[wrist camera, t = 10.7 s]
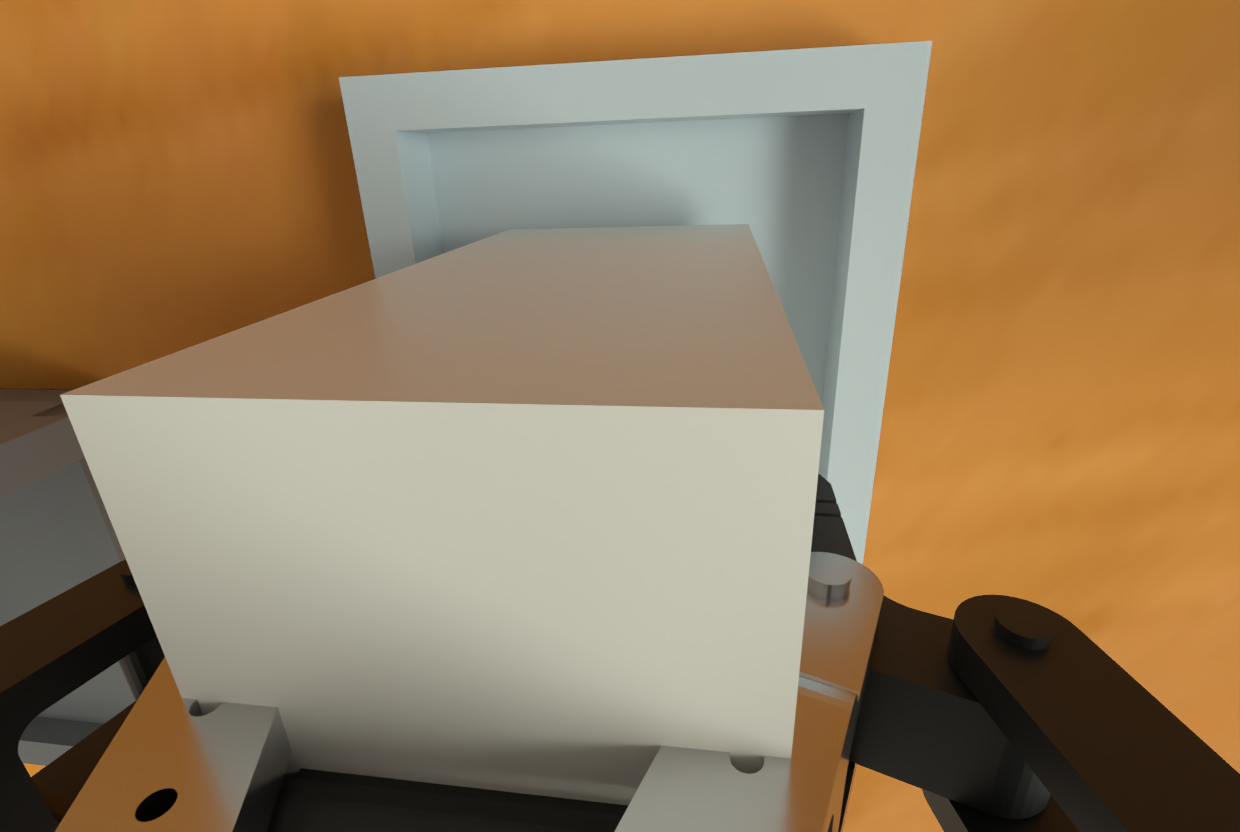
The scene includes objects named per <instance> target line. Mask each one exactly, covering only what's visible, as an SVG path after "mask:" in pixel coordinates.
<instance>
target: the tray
mask: <svg viewBox="0 0 1240 832" xmlns="http://www.w3.org/2000/svg"><path fill="white" fill-rule="evenodd" d="M931 46H932V41H919V42H903V43H887V44H870V45H854V46H838V47H822V48H806V49H789V50H773V51H757V52H741V53H725V54H708V55H692V56H676V57H660V58H644V59H627V60H611V61H595V62H579V63H563V64H546V65H530V66H514V67H498V68H482V69H465V70H449V71H433V72H417V73H401V74H384V75H368V76H352V77H339V82H340V88H341V93H342V99H343V104H344V110H345V115H346V121H347V126H348V132H349V137H350V143H351V148H352V154H353V159H354V165H355V170H356V175H357V181H358V186H359V192H360V197H361V203H362V208H363V214H364V219H365V225H366V230H367V236H368V241H369V247H370V252H371V258H372V263H373V269H374V274H375V279H376V278H379V277H381V276H384V275H387V274H390V273H392V272H395V271H398V270H400V269H403V268H406V267H409V266H411V265H414V264H417V263H419V262H422V261H425V260H428V259H430V258H433V257H436V256H438V255H441V254H444V253H447V252H449V251H452V250H455V249H457V248H460V247H463V246H466V245H468V244H471V243H474V242H476V241H479V240H482V239H485V238H487V237H490V236H493V235H496V234H498V233H501V232H504V231H506V230H509V229H550V228H595V227H640V226H684V225H729V224H749V227H750V229H751V232H752V234H753V236H754V239H755V241H756V244H757V246H758V249H759V251H760V254H761V256H762V259H763V261H764V263H765V266H766V268H767V271H768V273H769V276H770V278H771V281H772V283H773V285H774V288H775V290H776V293H777V295H778V298H779V300H780V303H781V305H782V308H783V310H784V312H785V315H786V317H787V320H788V322H789V325H790V327H791V330H792V332H793V335H794V337H795V339H796V342H797V344H798V347H799V349H800V352H801V354H802V357H803V359H804V362H805V364H806V366H807V369H808V371H809V374H810V376H811V379H812V381H813V384H814V386H815V388H816V391H817V393H818V396H819V398H820V401H821V403H822V406H823V408H824V419H823V429H822V440H821V450H820V461H819V471H818V473H819V474H820V475H821V476H822V477H824V478H825V479H826V480H827V481H828V482H829V483H830V484H831V486H832V489H833V492H834V495H835V497H836V504H838V506H839V509H840V512H841V517H842V518H843V521H844V524H845V527H846V530H847V533H848V536H849V539H850V542H851V545H852V548H853V551H854V554H855V557H856V560H857V562H859V563H861V564H863V558H864V550H865V543H866V535H867V528H868V520H869V513H870V505H871V498H872V490H873V483H874V475H875V467H876V460H877V452H878V445H879V437H880V430H881V422H882V415H883V407H884V400H885V392H886V385H887V377H888V370H889V362H890V355H891V347H892V340H893V332H894V325H895V317H896V310H897V302H898V295H899V287H900V279H901V272H902V264H903V257H904V249H905V242H906V234H907V227H908V219H909V212H910V204H911V197H912V189H913V182H914V174H915V167H916V159H917V152H918V144H919V137H920V129H921V122H922V114H923V107H924V99H925V92H926V84H927V76H928V69H929V61H930V54H931Z"/></svg>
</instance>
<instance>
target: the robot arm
mask: <svg viewBox="0 0 1240 832" xmlns="http://www.w3.org/2000/svg"><path fill="white" fill-rule="evenodd" d="M883 594H884V591H883V586H882V584H881V582H880V580H879V579H878V577H877V576H876V575H875V574H874V573H873V572H872V571H871V570H870V569H868V568H867V567H865V566H864V565H863V564H861V563H859V562H857V560H856V557H855V554H854V551H853V548H852V545H851V542H850V539H849V536H848V533H847V530H846V527H845V524H844V521H843V518H842V517H841V512H840V509H839V506H838V504H836V497H835V495H834V492H833V489H832V486H831V484H830V483H829V482H828V481H827V480H826V479H825V478H824V477H822V476H821V475H820V474H819V473H818V482H817V492H816V503H815V513H814V524H813V534H812V545H811V555H810V566H809V576H808V587H807V597H806V608H805V618H804V629H803V639H802V650H801V660H800V671H799V681H798V692H797V703H796V713H795V724H794V734H793V745H792V755H791V758H782V757H772V756H763V766H762V769H761V770H760V771H758V772H756V773H752V774H747V773H743V772H740V771H738V770H737V769H736V768H735V767H734V766H733V765H732V764H731V762H730V752H722V751H712V750H702V749H692V748H681V747H671V746H661V747H660V749H659V751H658V753H657V755H656V756H655V758H654V760H653V762H652V764H651V766H650V767H649V769H648V771H647V773H646V775H645V777H644V778H643V780H642V782H641V784H640V786H639V788H638V789H637V791H636V793H635V795H634V797H633V799H632V800H631V802H630V804H629V806H628V805H619V804H611V803H602V802H593V801H584V800H576V799H567V798H558V797H549V796H541V795H532V794H523V793H514V792H505V791H497V790H488V789H479V788H470V787H462V786H453V785H444V784H435V783H427V782H418V781H409V780H400V779H392V778H383V777H374V776H365V775H357V774H348V773H339V772H330V771H322V770H313V769H304V768H301V769H300V770H299V772H294V773H287V774H285V772H286V769H287V765H288V762H289V759H290V756H291V753H292V750H291V747H290V743H289V740H288V737H287V734H286V731H285V728H284V725H283V722H282V719H281V716H280V713H279V710H278V707H268V706H258V705H248V704H238V703H228V702H222V704H221V705H220V706H219V707H218V708H217V709H216V710H214V711H213V712H211V713H209V714H207V715H204V716H203V713H202V710H201V708H200V705H199V703H198V700H197V699H188V698H182V697H181V695H180V692H179V690H178V687H177V685H176V682H175V680H174V677H173V675H172V672H171V670H170V667H169V665H168V662H167V660H166V657H165V655H164V652H163V650H162V648H161V645H160V643H159V640H158V638H157V635H156V633H155V630H154V628H153V625H152V623H151V620H150V618H149V615H148V613H147V610H146V608H145V605H144V603H143V600H142V598H141V595H140V593H139V590H138V588H137V585H136V583H135V580H134V578H133V575H132V573H131V571H130V568H129V566H128V563H127V561H126V559H125V560H123V561H121V562H119V563H117V564H115V565H113V566H111V567H110V568H108V569H106V570H104V571H102V572H100V573H98V574H96V575H95V576H93V577H91V578H89V579H87V580H85V581H83V582H82V583H80V584H78V585H76V586H74V587H72V588H70V589H69V590H67V591H65V592H63V593H61V594H59V595H57V596H56V597H54V598H52V599H50V600H48V601H46V602H44V603H43V604H41V605H39V606H37V607H35V608H33V609H31V610H30V611H28V612H26V613H24V614H22V615H20V616H18V617H17V618H15V619H13V620H11V621H9V622H7V623H5V624H4V625H2V626H0V832H843V827H844V823H845V818H846V813H847V809H848V804H849V799H850V795H851V790H852V785H853V781H854V776H855V772H856V767H857V764H859V765H861V766H864V767H867V768H869V769H872V770H874V771H877V772H880V773H882V774H885V775H887V776H890V777H893V778H895V779H898V780H901V781H903V782H906V783H908V784H911V785H914V786H916V787H919V788H921V789H922V790H923V793H924V796H925V798H926V800H927V802H928V804H929V806H930V808H931V809H932V811H933V813H934V815H935V816H936V818H937V820H938V822H939V823H940V825H941V827H942V829H943V830H944V832H1240V774H1239V773H1238V772H1237V771H1236V770H1235V769H1233V768H1232V767H1231V766H1230V765H1229V764H1228V763H1227V762H1226V761H1225V760H1223V759H1222V758H1221V757H1220V756H1219V755H1218V754H1217V753H1216V752H1215V751H1213V750H1212V749H1211V748H1210V747H1209V746H1208V745H1207V744H1206V743H1205V742H1203V741H1202V740H1201V739H1200V738H1199V737H1198V736H1197V735H1196V734H1195V733H1193V732H1192V731H1191V730H1190V729H1189V728H1188V727H1187V726H1186V725H1185V724H1184V723H1182V722H1181V721H1180V720H1179V719H1178V718H1177V717H1176V716H1175V715H1174V714H1172V713H1171V712H1170V711H1169V710H1168V709H1167V708H1166V707H1165V706H1164V705H1162V704H1161V703H1160V702H1159V701H1158V700H1157V699H1156V698H1155V697H1154V696H1152V695H1151V694H1150V693H1149V692H1148V691H1147V690H1146V689H1145V688H1144V687H1142V686H1141V685H1140V684H1139V683H1138V682H1137V681H1136V680H1135V679H1134V678H1132V677H1131V676H1130V675H1129V674H1128V673H1127V672H1126V671H1125V670H1124V669H1123V668H1121V667H1120V666H1119V665H1118V664H1117V663H1116V662H1115V661H1114V660H1113V659H1111V658H1110V657H1109V656H1108V655H1107V654H1106V653H1105V652H1104V651H1103V650H1101V649H1100V648H1099V647H1098V646H1097V645H1096V644H1095V643H1094V642H1093V641H1091V640H1090V639H1089V638H1088V637H1087V636H1086V635H1085V634H1084V633H1083V632H1081V631H1080V630H1079V629H1078V628H1077V627H1076V626H1075V625H1073V624H1072V623H1071V622H1070V621H1068V620H1067V619H1065V618H1064V617H1062V616H1061V615H1059V614H1057V613H1055V612H1053V611H1051V610H1050V609H1048V608H1045V607H1043V606H1041V605H1038V604H1036V603H1033V602H1030V601H1027V600H1023V599H1019V598H1015V597H1009V596H1003V595H982V596H976V597H972V598H969V599H967V600H965V601H964V602H962V603H961V604H960V605H959V606H958V607H957V609H956V611H955V616H954V620H952V619H948V618H945V617H941V616H937V615H933V614H930V613H926V612H922V611H918V610H915V609H912V608H909V607H906V606H904V605H901V604H899V603H897V602H895V601H893V600H891V599H889V598H887V597H885V596H884V595H883ZM116 662H119V664H120V666H121V669H122V671H123V673H124V675H125V678H126V680H127V682H128V684H129V687H130V689H131V691H132V694H133V696H134V698H135V700H136V701H135V702H133V703H132V704H131V705H129V706H128V707H126V708H125V709H124V710H122V711H121V712H120V713H118V714H117V715H116V716H114V717H113V718H111V719H110V720H109V721H107V722H106V723H105V724H103V725H102V726H100V727H99V728H98V729H96V730H95V731H94V732H92V733H91V734H90V735H88V736H87V737H85V738H84V739H83V740H81V741H80V742H79V743H77V744H76V745H75V746H73V747H72V748H70V749H69V750H68V751H66V752H65V753H64V754H62V755H61V756H60V757H58V758H57V759H55V760H54V761H53V762H51V763H50V764H49V765H47V766H46V767H45V768H43V769H42V770H40V771H39V772H38V773H36V774H35V775H34V776H32V777H30V775H29V773H28V772H27V770H26V768H25V766H24V765H23V763H22V761H21V759H20V757H19V754H18V745H19V741H20V738H21V736H22V734H23V732H24V730H25V729H26V727H27V726H28V725H29V724H30V722H31V721H32V720H33V719H34V718H35V717H37V716H38V715H39V714H40V713H41V712H43V711H44V710H46V709H47V708H49V707H50V706H52V705H53V704H55V703H56V702H58V701H59V700H61V699H62V698H64V697H65V696H67V695H68V694H70V693H71V692H73V691H74V690H76V689H77V688H79V687H80V686H82V685H83V684H85V683H86V682H88V681H89V680H91V679H92V678H94V677H95V676H97V675H98V674H100V673H101V672H103V671H104V670H106V669H107V668H109V667H110V666H112V665H113V664H115V663H116Z"/></svg>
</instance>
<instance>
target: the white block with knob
mask: <svg viewBox="0 0 1240 832" xmlns="http://www.w3.org/2000/svg"><path fill="white" fill-rule="evenodd" d="M60 397H61V399H62V402H63V404H64V407H65V409H66V412H67V414H68V416H69V419H70V421H71V424H72V426H73V429H74V431H75V434H76V436H77V439H78V441H79V444H80V446H81V449H82V451H83V454H84V456H85V459H86V461H87V464H88V466H89V469H90V471H91V474H92V476H93V479H94V481H95V484H96V486H97V489H98V491H99V494H100V496H101V498H102V501H103V503H104V506H105V508H106V511H107V513H108V516H109V518H110V521H111V523H112V526H113V528H114V531H115V533H116V536H117V538H118V541H119V543H120V546H121V548H122V551H123V553H124V556H125V558H126V561H127V563H128V566H129V568H130V571H131V573H132V575H133V578H134V580H135V583H136V585H137V588H138V590H139V593H140V595H141V598H142V600H143V603H144V605H145V608H146V610H147V613H148V615H149V618H150V620H151V623H152V625H153V628H154V630H155V633H156V635H157V638H158V640H159V643H160V645H161V648H162V650H163V652H164V655H165V657H166V660H167V662H168V665H169V667H170V670H171V672H172V675H173V677H174V680H175V682H176V685H177V687H178V690H179V692H180V695H181V697H182V698H188V699H197V700H198V703H199V705H200V708H201V710H202V713H203V716H204V715H207V714H209V713H211V712H213V711H214V710H216V709H217V708H218V707H219V706H220V705H221V704H222V702H228V703H238V704H248V705H258V706H268V707H278V710H279V713H280V716H281V719H282V722H283V725H284V728H285V731H286V734H287V737H288V740H289V743H290V747H291V750H292V753H291V756H290V759H289V762H288V765H287V769H286V772H285V774H287V773H294V772H299V770H300V769H301V768H304V769H313V770H322V771H330V772H339V773H348V774H357V775H365V776H374V777H383V778H392V779H400V780H409V781H418V782H427V783H435V784H444V785H453V786H462V787H470V788H479V789H488V790H497V791H505V792H514V793H523V794H532V795H541V796H549V797H558V798H567V799H576V800H584V801H593V802H602V803H611V804H619V805H628V806H629V804H630V802H631V800H632V799H633V797H634V795H635V793H636V791H637V789H638V788H639V786H640V784H641V782H642V780H643V778H644V777H645V775H646V773H647V771H648V769H649V767H650V766H651V764H652V762H653V760H654V758H655V756H656V755H657V753H658V751H659V749H660V747H661V746H671V747H681V748H692V749H702V750H712V751H722V752H730V762H731V764H732V765H733V766H734V767H735V768H736V769H737V770H738V771H740V772H743V773H747V774H752V773H756V772H758V771H760V770H761V769H762V766H763V756H772V757H782V758H791V755H792V745H793V734H794V724H795V713H796V703H797V692H798V681H799V671H800V660H801V650H802V639H803V629H804V618H805V608H806V597H807V587H808V576H809V566H810V555H811V545H812V534H813V524H814V513H815V503H816V492H817V482H818V471H819V461H820V450H821V440H822V429H823V419H824V408H823V406H822V403H821V401H820V398H819V396H818V393H817V391H816V388H815V386H814V384H813V381H812V379H811V376H810V374H809V371H808V369H807V366H806V364H805V362H804V359H803V357H802V354H801V352H800V349H799V347H798V344H797V342H796V339H795V337H794V335H793V332H792V330H791V327H790V325H789V322H788V320H787V317H786V315H785V312H784V310H783V308H782V305H781V303H780V300H779V298H778V295H777V293H776V290H775V288H774V285H773V283H772V281H771V278H770V276H769V273H768V271H767V268H766V266H765V263H764V261H763V259H762V256H761V254H760V251H759V249H758V246H757V244H756V241H755V239H754V236H753V234H752V232H751V229H750V227H749V224H729V225H684V226H640V227H595V228H550V229H509V230H506V231H504V232H501V233H498V234H496V235H493V236H490V237H487V238H485V239H482V240H479V241H476V242H474V243H471V244H468V245H466V246H463V247H460V248H457V249H455V250H452V251H449V252H447V253H444V254H441V255H438V256H436V257H433V258H430V259H428V260H425V261H422V262H419V263H417V264H414V265H411V266H409V267H406V268H403V269H400V270H398V271H395V272H392V273H390V274H387V275H384V276H381V277H379V278H376V279H373V280H371V281H368V282H365V283H362V284H360V285H357V286H354V287H351V288H349V289H346V290H343V291H341V292H338V293H335V294H332V295H330V296H327V297H324V298H322V299H319V300H316V301H313V302H311V303H308V304H305V305H303V306H300V307H297V308H294V309H292V310H289V311H286V312H284V313H281V314H278V315H275V316H273V317H270V318H267V319H265V320H262V321H259V322H256V323H254V324H251V325H248V326H246V327H243V328H240V329H237V330H235V331H232V332H229V333H226V334H224V335H221V336H218V337H216V338H213V339H210V340H207V341H205V342H202V343H199V344H197V345H194V346H191V347H188V348H186V349H183V350H180V351H178V352H175V353H172V354H169V355H167V356H164V357H161V358H159V359H156V360H153V361H150V362H148V363H145V364H142V365H140V366H137V367H134V368H131V369H129V370H126V371H123V372H120V373H118V374H115V375H112V376H110V377H107V378H104V379H101V380H99V381H96V382H93V383H91V384H88V385H85V386H82V387H80V388H77V389H74V390H72V391H69V392H66V393H63V394H61V395H60Z"/></svg>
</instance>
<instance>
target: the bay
mask: <svg viewBox="0 0 1240 832" xmlns="http://www.w3.org/2000/svg"><path fill="white" fill-rule="evenodd" d="M69 391H72V390H49V389H0V626H2V625H4V624H5V623H7V622H9V621H11V620H13V619H15V618H17V617H18V616H20V615H22V614H24V613H26V612H28V611H30V610H31V609H33V608H35V607H37V606H39V605H41V604H43V603H44V602H46V601H48V600H50V599H52V598H54V597H56V596H57V595H59V594H61V593H63V592H65V591H67V590H69V589H70V588H72V587H74V586H76V585H78V584H80V583H82V582H83V581H85V580H87V579H89V578H91V577H93V576H95V575H96V574H98V573H100V572H102V571H104V570H106V569H108V568H110V567H111V566H113V565H115V564H117V563H119V562H121V561H123V560H125V559H126V558H125V556H124V553H123V551H122V548H121V546H120V543H119V541H118V538H117V536H116V533H115V531H114V528H113V526H112V523H111V521H110V518H109V516H108V513H107V511H106V508H105V506H104V503H103V501H102V498H101V496H100V494H99V491H98V489H97V486H96V484H95V481H94V479H93V476H92V474H91V471H90V469H89V466H88V464H87V461H86V459H85V456H84V454H83V451H82V449H81V446H80V444H79V441H78V439H77V436H76V434H75V431H74V429H73V426H72V424H71V421H70V419H69V416H68V414H67V412H66V409H65V407H64V404H63V402H62V399H61V397H60V395H61V394H63V393H66V392H69ZM135 701H136V700H135V698H134V696H133V694H132V691H131V689H130V687H129V684H128V682H127V680H126V678H125V675H124V673H123V671H122V669H121V666H120V664H119V662H116V663H115V664H113V665H112V666H110V667H109V668H107V669H106V670H104V671H103V672H101V673H100V674H98V675H97V676H95V677H94V678H92V679H91V680H89V681H88V682H86V683H85V684H83V685H82V686H80V687H79V688H77V689H76V690H74V691H73V692H71V693H70V694H68V695H67V696H65V697H64V698H62V699H61V700H59V701H58V702H56V703H55V704H53V705H52V706H50V707H49V708H47V709H46V710H44V711H43V712H41V713H40V714H39V715H38V716H37V717H35V718H34V719H33V720H32V721H31V722H30V724H29V725H28V726H27V727H26V729H25V730H24V732H23V734H22V736H21V738H20V741H19V745H18V754H19V757H20V759H21V761H22V763H28V764H37V765H45V766H47V765H49V764H50V763H51V762H53V761H54V760H55V759H57V758H58V757H60V756H61V755H62V754H64V753H65V752H66V751H68V750H69V749H70V748H72V747H73V746H75V745H76V744H77V743H79V742H80V741H81V740H83V739H84V738H85V737H87V736H88V735H90V734H91V733H92V732H94V731H95V730H96V729H98V728H99V727H100V726H102V725H103V724H105V723H106V722H107V721H109V720H110V719H111V718H113V717H114V716H116V715H117V714H118V713H120V712H121V711H122V710H124V709H125V708H126V707H128V706H129V705H131V704H132V703H133V702H135Z"/></svg>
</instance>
